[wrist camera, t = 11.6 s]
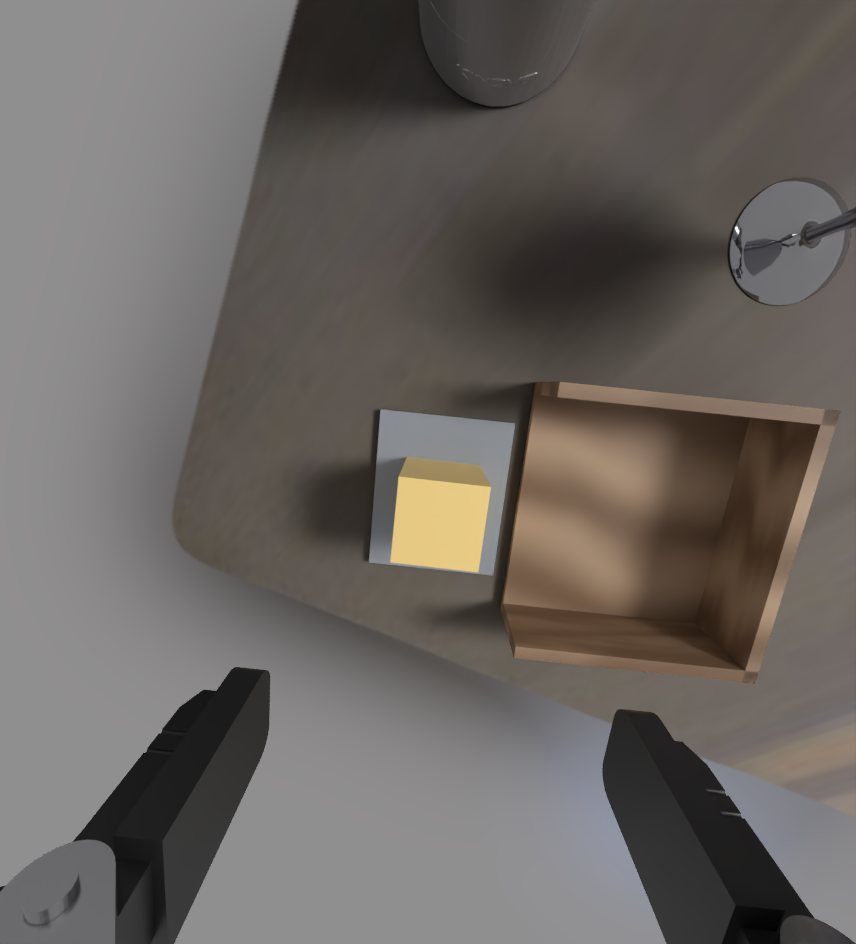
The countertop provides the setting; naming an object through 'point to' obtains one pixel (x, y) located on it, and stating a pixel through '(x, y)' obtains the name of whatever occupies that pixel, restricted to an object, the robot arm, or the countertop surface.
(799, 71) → the countertop surface
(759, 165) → the countertop surface
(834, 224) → the wine glass
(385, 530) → the mat
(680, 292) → the countertop surface
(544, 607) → the box
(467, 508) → the block
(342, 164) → the countertop surface
